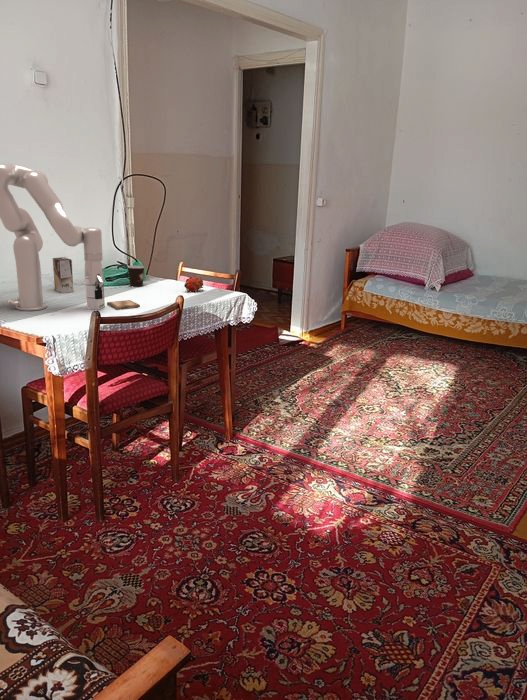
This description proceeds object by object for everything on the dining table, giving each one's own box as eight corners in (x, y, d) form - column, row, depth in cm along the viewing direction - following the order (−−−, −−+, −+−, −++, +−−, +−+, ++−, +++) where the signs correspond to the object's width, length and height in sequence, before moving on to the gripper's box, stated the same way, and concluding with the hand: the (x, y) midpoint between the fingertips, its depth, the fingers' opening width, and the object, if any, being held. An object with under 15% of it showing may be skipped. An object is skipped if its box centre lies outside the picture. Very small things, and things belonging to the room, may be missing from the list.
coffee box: (74, 292, 282) (72, 259, 277) (61, 293, 278) (59, 260, 273) (66, 288, 288) (64, 256, 284) (54, 290, 284) (51, 257, 279)
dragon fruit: (205, 293, 300) (186, 299, 293) (196, 281, 303) (177, 287, 295) (209, 282, 294) (190, 287, 286) (200, 270, 296) (181, 276, 289)
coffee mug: (139, 283, 309) (139, 265, 306) (147, 286, 302) (147, 267, 299) (120, 285, 302) (119, 266, 299) (127, 288, 295) (127, 269, 292)
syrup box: (99, 309, 249) (97, 276, 245) (86, 308, 250) (84, 275, 246) (105, 307, 254) (103, 274, 250) (92, 306, 255) (91, 273, 251)
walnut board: (116, 309, 250) (116, 307, 250) (107, 304, 259) (106, 302, 258) (139, 307, 256) (139, 304, 256) (129, 302, 265) (129, 299, 264)
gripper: (77, 254, 250) (80, 294, 255) (92, 260, 237) (94, 301, 242) (94, 253, 254) (96, 292, 260) (109, 259, 241) (111, 300, 246)
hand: (95, 296), depth 251 cm, fingers closed on syrup box, 7 cm apart
